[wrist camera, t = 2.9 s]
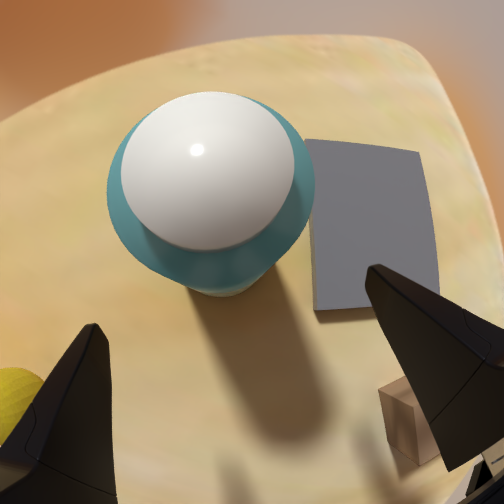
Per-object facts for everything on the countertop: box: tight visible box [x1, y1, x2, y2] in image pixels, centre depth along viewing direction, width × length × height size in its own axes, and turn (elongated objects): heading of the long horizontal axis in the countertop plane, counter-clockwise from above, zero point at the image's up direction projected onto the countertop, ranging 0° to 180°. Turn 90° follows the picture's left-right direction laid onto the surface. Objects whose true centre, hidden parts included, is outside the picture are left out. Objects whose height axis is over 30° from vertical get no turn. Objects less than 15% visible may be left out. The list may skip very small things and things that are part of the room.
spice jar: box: [107, 92, 315, 297], centre depth 14 cm, size 6×6×13 cm
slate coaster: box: [304, 139, 440, 310], centre depth 21 cm, size 12×10×1 cm
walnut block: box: [378, 376, 440, 466], centre depth 17 cm, size 5×5×5 cm
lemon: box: [0, 368, 44, 446], centre depth 13 cm, size 6×6×8 cm
